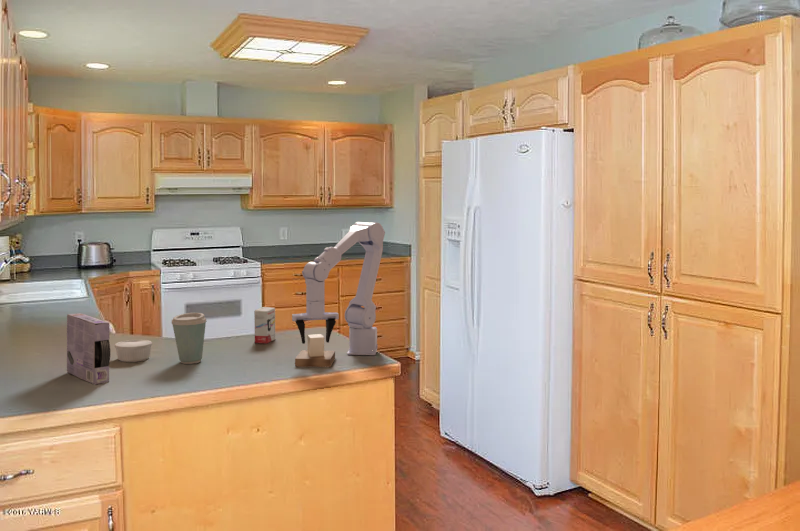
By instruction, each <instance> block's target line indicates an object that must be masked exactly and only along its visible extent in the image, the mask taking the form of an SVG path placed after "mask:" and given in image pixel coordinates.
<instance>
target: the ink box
mask: <svg viewBox="0 0 800 531" xmlns="http://www.w3.org/2000/svg"><path fill="white" fill-rule="evenodd" d="M274 340H276V307H269V306H263V307H260V308H257V309H255V310H254V344H265V345H266V344H269V343H270V342H272V341H274Z"/></svg>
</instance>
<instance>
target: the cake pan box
mask: <svg viewBox="0 0 800 531" xmlns="http://www.w3.org/2000/svg"><path fill="white" fill-rule="evenodd" d="M110 363H111V344H110V322H109V321H105V320H102V319H99V318H97V317H93V316H90V315H88V314H85V313H82V312H79V313H67V314H66V373H68V374H70V375H72V376H74V377H76V378H77V379H79V380H80V379H81V380H82V381H86V382H88V383H90V384H92V385H94V386H95V385H101V383H102V384H106V382H107V383H110Z"/></svg>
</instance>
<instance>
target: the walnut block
mask: <svg viewBox="0 0 800 531" xmlns="http://www.w3.org/2000/svg"><path fill="white" fill-rule="evenodd" d="M334 359H336V351H335V350H324V356H314V357H310V356H309V355H308V353H307V350H304V349H303V350H300V352H299V353H298V354H297V355H296V357H295V358H294V364H295V365H294V367H302V368H303V367H306V368H331V366H332V365H333V363H334V361H335V360H334Z"/></svg>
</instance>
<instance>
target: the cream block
mask: <svg viewBox="0 0 800 531" xmlns="http://www.w3.org/2000/svg"><path fill="white" fill-rule="evenodd" d="M306 337H307V338H306V339H307V344H306V345H307V353H308V355H309V356H310V357H314V356H324V351H325V337H324V335H323V334H321V333H317V334H315V333H314V334H307V336H306Z"/></svg>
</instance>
